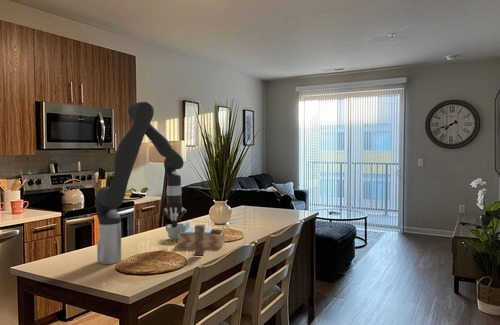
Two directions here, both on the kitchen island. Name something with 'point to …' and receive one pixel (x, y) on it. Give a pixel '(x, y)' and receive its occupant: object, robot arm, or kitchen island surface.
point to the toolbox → (211, 240)
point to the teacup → (174, 231)
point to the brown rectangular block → (199, 239)
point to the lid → (193, 229)
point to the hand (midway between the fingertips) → (174, 227)
